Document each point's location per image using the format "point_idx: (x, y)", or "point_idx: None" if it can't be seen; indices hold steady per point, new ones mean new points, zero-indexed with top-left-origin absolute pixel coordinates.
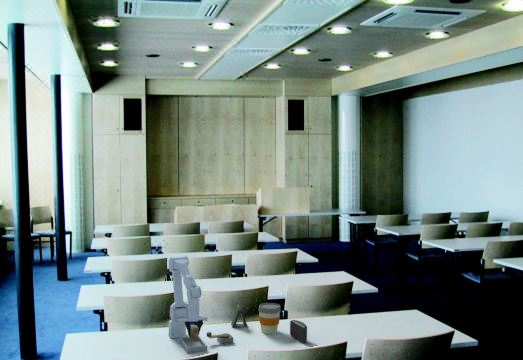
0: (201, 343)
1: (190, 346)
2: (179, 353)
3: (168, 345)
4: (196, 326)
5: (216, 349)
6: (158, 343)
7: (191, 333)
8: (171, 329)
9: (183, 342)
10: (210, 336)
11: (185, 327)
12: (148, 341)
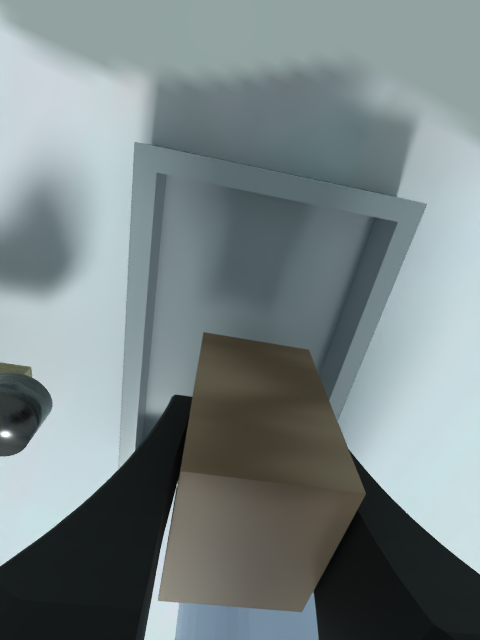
0: (149, 348)
1: (278, 340)
2: (468, 231)
3: (409, 449)
4: (178, 562)
5: (21, 134)
6: (440, 505)
7: (327, 413)
8: (316, 627)
9: (344, 398)
10: (3, 375)
11: (190, 627)
12: (467, 551)
